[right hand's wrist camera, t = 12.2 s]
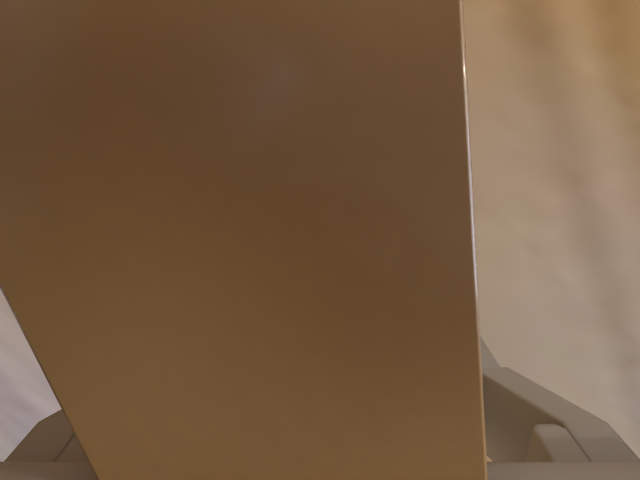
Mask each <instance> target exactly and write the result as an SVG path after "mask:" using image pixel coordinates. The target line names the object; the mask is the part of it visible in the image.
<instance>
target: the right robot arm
mask: <svg viewBox="0 0 640 480" xmlns="http://www.w3.org/2000/svg"><path fill="white" fill-rule="evenodd" d="M480 342H481V362H482V381H483V401H484V420H485V440H486V455H487V456H488V457H489V458H490V459H491V460H492V461H493V462H487V479H488V480H640V459H639V458H638V457H637V456H636V455H635V454H634V452H633V451H632V450H631V449H630V448H629V447H628V446H627V444H626V443H625V442H624V441H623V440H622V439H621V438H620V436H619V435H618V434H617V433H616V432H615V431H614V430H613V428H612V427H611V426H610V425H609V424H608V423H607V422H605V421H603V420H601V419H600V418H598V417H596V416H594V415H592V414H591V413H589V412H587V411H585V410H583V409H582V408H580V407H578V406H576V405H574V404H573V403H571V402H569V401H567V400H565V399H563V398H562V397H560V396H558V395H556V394H554V393H553V392H551V391H549V390H547V389H545V388H544V387H542V386H540V385H538V384H536V383H535V382H533V381H531V380H529V379H527V378H526V377H524V376H522V375H520V374H518V373H517V372H515V371H513V370H511V369H509V368H503V367H501V366H500V364H499V363H498V361H497V360H496V358H495V357H494V356H493V354H492V353H491V351H490V350H489V348H488V347H487V345H486V344H485V342H484V341H483V339H482V338H481V337H480ZM0 480H98V479H97V477H96V475H95V473H94V471H93V469H92V467H91V465H90V463H89V461H88V459H87V457H86V455H85V453H84V451H83V449H82V447H81V446H80V444H79V442H78V440H77V438H76V436H75V434H74V432H73V430H72V428H71V426H70V424H69V422H68V420H67V418H66V416H65V414H64V412H63V410H62V409H61V410H59V411H58V412H56V413H54V414H52V415H50V416H49V417H47V418H45V419H43V420H42V421H40V422H38V423H37V424H36V425H35V427H34V428H33V429H32V430H31V431H30V432H29V433H28V435H27V436H26V437H25V438H24V439H23V440H22V442H21V443H20V444H19V445H18V446H17V447H16V448H15V450H14V451H13V452H12V453H11V454H10V455H9V456H8V458H7V459H6V460H5V461H4V462H0Z"/></svg>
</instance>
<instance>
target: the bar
mask: <svg viewBox="0 0 640 480" xmlns="http://www.w3.org/2000/svg"><path fill="white" fill-rule="evenodd" d="M0 288H1V290H2V292H3V294H4V296H5V298H6V300H7V302H8V304H9V306H10V308H11V310H12V312H13V314H14V316H15V318H16V320H17V322H18V324H19V326H20V327H21V329H22V331H23V333H24V335H25V337H26V339H27V341H28V343H29V345H30V347H31V349H32V351H33V353H34V355H35V357H36V359H37V361H38V363H39V365H40V367H41V369H42V371H43V373H44V375H45V377H46V379H47V381H48V383H49V385H50V386H51V388H52V390H53V392H54V394H55V396H56V398H57V400H58V402H59V404H60V406H61V408H62V410H63V412H64V414H65V416H66V418H67V420H68V422H69V424H70V426H71V428H72V430H73V432H74V434H75V436H76V438H77V440H78V442H79V444H80V446H81V447H82V449H83V451H84V453H85V455H86V457H87V459H88V461H89V463H90V465H91V467H92V469H93V471H94V473H95V475H96V477H97V479H98V480H488V479H487V459H486V440H485V420H484V401H483V381H482V362H481V342H480V323H479V303H478V284H477V264H476V245H475V225H474V206H473V186H472V167H471V147H470V128H469V108H468V89H467V69H466V50H465V30H464V11H463V0H0Z"/></svg>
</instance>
